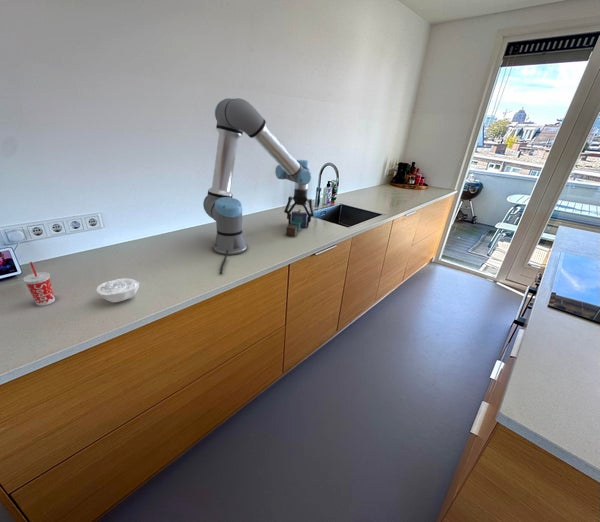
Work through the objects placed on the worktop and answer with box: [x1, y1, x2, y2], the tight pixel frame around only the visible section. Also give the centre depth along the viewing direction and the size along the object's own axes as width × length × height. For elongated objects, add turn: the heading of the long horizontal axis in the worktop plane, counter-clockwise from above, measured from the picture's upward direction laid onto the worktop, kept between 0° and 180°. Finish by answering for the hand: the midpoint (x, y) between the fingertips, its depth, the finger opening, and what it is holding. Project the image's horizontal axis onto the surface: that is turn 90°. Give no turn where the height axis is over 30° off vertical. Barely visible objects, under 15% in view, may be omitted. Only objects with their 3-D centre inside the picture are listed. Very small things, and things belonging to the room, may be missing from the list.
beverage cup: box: [22, 261, 56, 307], centre depth 88 cm, size 6×6×14 cm
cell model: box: [96, 277, 140, 304], centre depth 94 cm, size 10×12×7 cm
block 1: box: [290, 221, 302, 234], centre depth 165 cm, size 5×5×5 cm
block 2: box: [285, 225, 298, 238], centre depth 158 cm, size 5×5×5 cm
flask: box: [291, 209, 308, 229], centre depth 170 cm, size 9×3×11 cm, turn 87°
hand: (298, 225), depth 172 cm, fingers open, 10 cm apart
